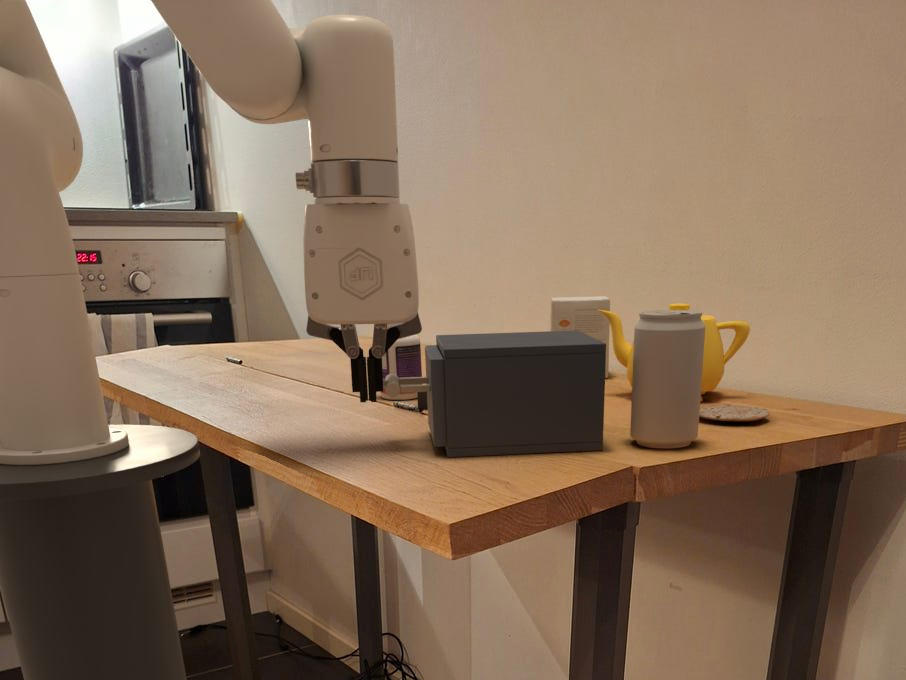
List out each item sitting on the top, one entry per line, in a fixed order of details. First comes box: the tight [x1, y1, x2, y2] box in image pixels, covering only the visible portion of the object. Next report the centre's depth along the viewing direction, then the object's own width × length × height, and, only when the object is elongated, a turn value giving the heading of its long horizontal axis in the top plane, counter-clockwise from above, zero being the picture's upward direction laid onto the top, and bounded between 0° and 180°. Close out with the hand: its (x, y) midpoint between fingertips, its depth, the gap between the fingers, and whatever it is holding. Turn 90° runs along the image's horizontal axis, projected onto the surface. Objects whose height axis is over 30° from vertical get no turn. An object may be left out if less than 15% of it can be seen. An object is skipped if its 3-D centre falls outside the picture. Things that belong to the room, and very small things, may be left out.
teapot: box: [598, 302, 751, 402], centre depth 109 cm, size 18×11×11 cm, turn 74°
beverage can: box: [629, 309, 705, 450], centre depth 84 cm, size 6×6×12 cm
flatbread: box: [699, 403, 771, 422], centre depth 97 cm, size 8×8×1 cm
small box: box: [549, 295, 611, 379], centre depth 126 cm, size 8×6×10 cm
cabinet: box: [435, 330, 606, 458], centre depth 88 cm, size 15×13×10 cm
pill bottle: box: [380, 323, 423, 401], centre depth 114 cm, size 5×5×10 cm
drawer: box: [385, 344, 447, 448], centre depth 88 cm, size 18×11×8 cm, turn 96°
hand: (368, 399), depth 87 cm, fingers closed
